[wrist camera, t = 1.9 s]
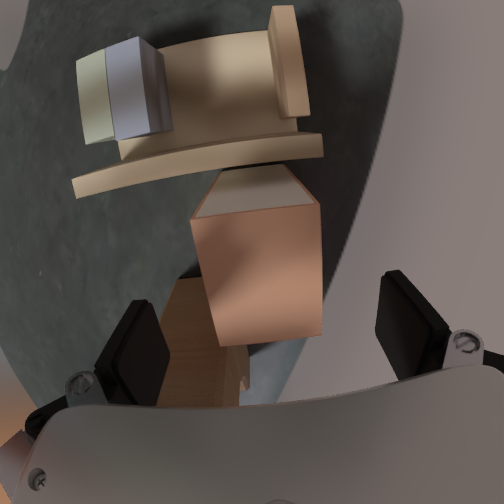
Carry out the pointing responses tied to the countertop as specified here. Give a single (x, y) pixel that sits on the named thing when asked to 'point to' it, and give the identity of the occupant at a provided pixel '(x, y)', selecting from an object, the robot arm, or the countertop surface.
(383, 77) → the countertop surface
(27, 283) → the countertop surface
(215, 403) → the decorative block
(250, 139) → the shelf
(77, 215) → the countertop surface
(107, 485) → the robot arm
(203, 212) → the tall pink rectangular prism
